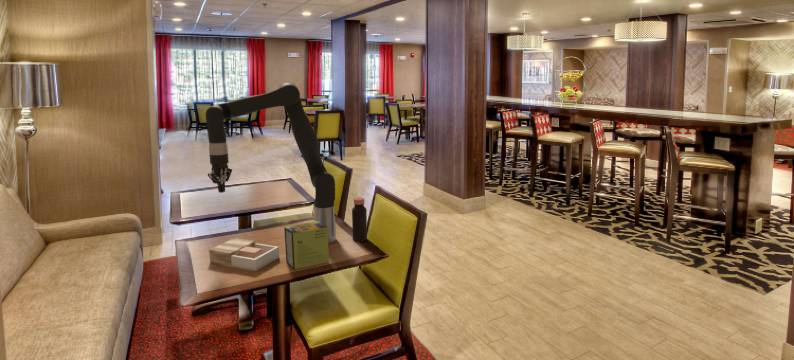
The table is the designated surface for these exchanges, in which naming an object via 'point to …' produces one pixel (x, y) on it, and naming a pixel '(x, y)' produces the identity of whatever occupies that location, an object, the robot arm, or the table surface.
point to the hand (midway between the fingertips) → (221, 192)
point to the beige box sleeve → (228, 251)
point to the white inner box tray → (259, 262)
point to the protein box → (306, 244)
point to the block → (250, 252)
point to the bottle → (359, 220)
